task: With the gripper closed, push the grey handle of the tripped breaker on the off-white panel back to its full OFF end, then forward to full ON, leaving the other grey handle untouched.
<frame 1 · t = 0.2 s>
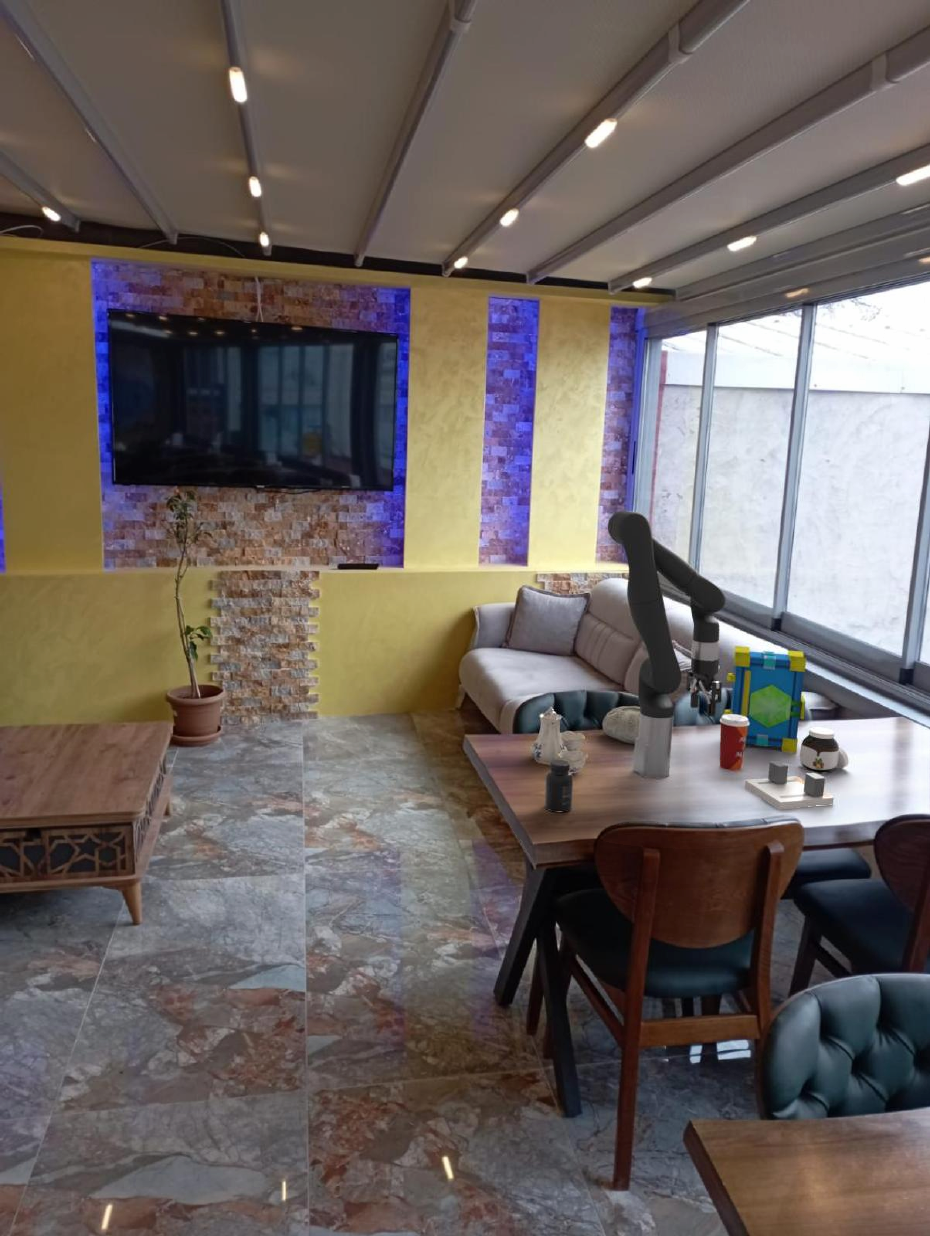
hand: (702, 711, 251), 17 cm above the table, tool pointing down, fingers open, 8 cm apart
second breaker: (814, 784, 232), point 5 cm above the table, slide at 4.0 cm
spread jar: (823, 769, 259), on the table
blue yellow rectangular box: (759, 745, 279), on the table
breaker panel: (787, 795, 237), on the table
decorative shell: (629, 740, 280), on the table
supplement bottle: (557, 808, 223), on the table
coffee cup: (730, 767, 258), on the table
chinaware: (558, 762, 258), on the table
tripped breaker: (778, 772, 240), point 5 cm above the table, slide at 0.0 cm
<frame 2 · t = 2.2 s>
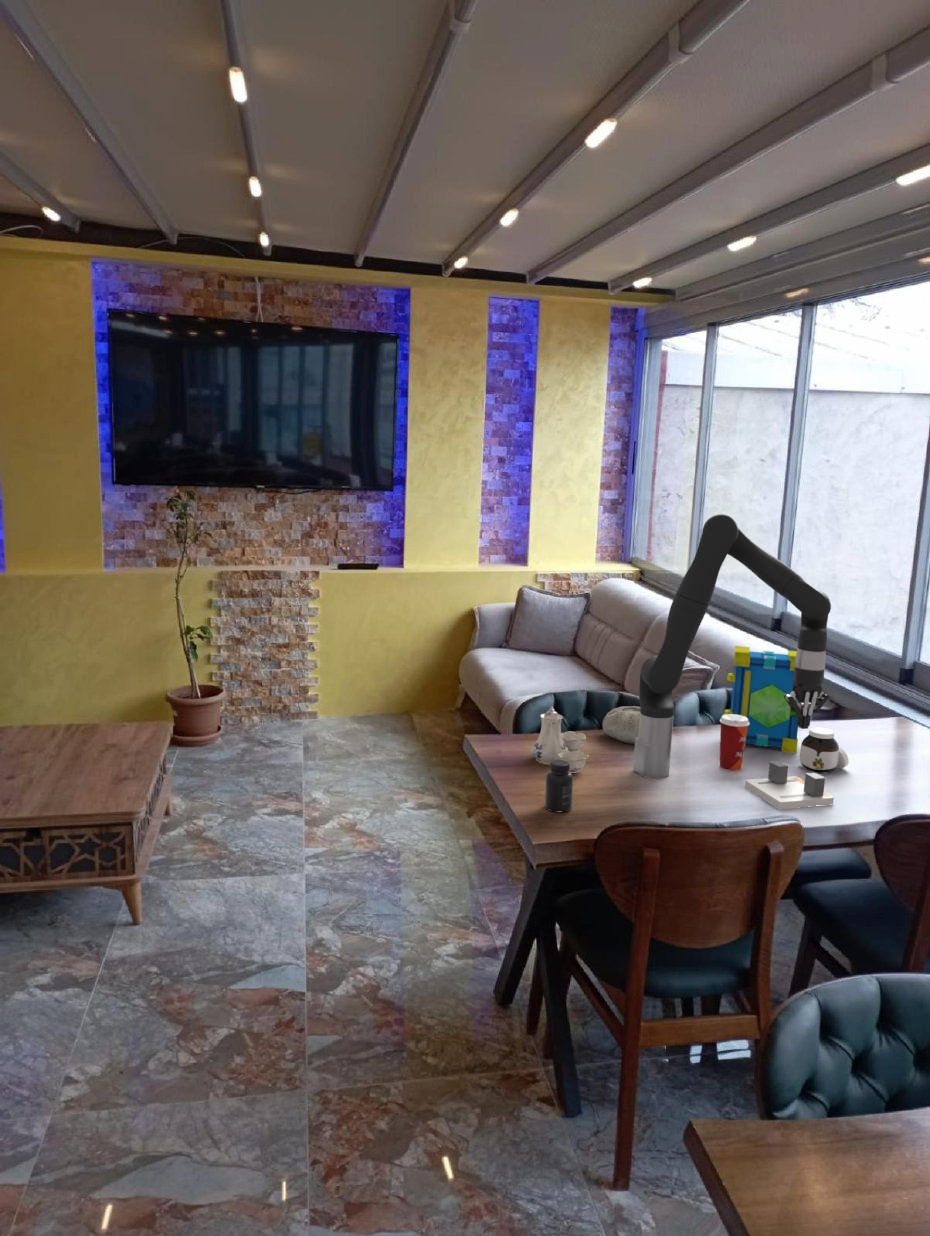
hand: (803, 727, 240), 17 cm above the table, tool pointing down, fingers closed
nothing on the table moved.
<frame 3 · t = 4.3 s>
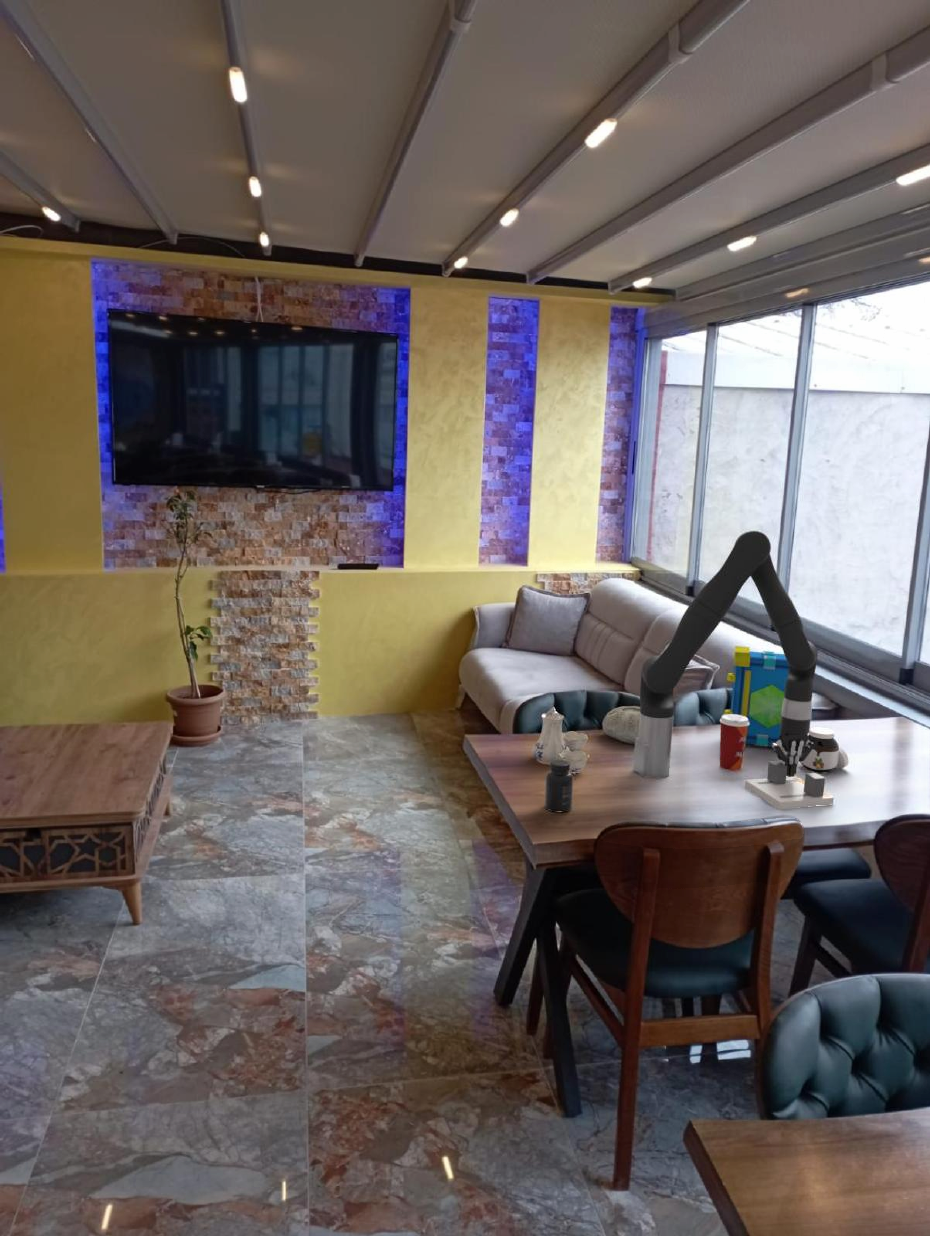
hand: (789, 775, 242), 3 cm above the table, tool pointing down, fingers closed
tripped breaker: (777, 772, 240), point 5 cm above the table, slide at -0.3 cm, touching gripper
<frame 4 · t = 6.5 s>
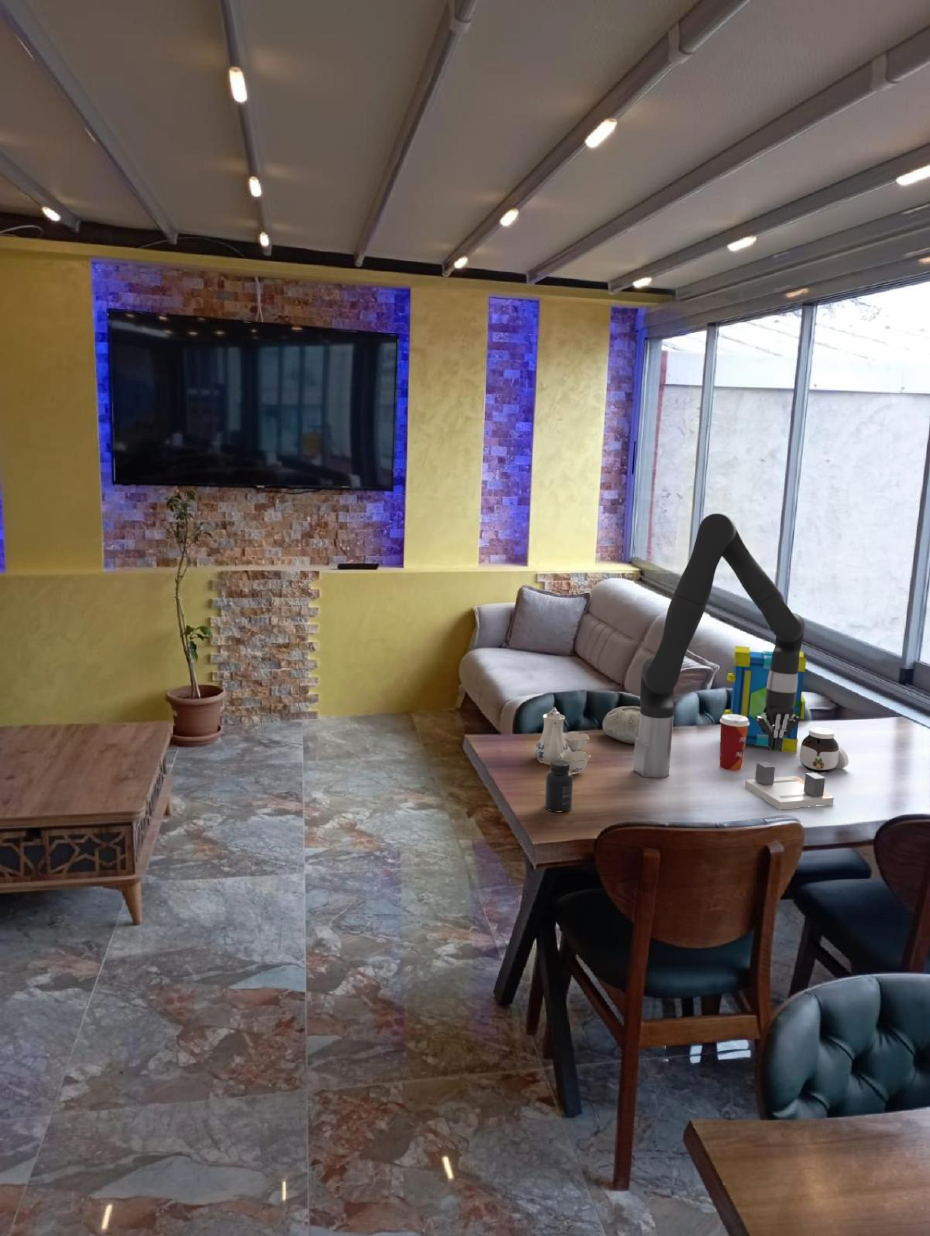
hand: (773, 750, 239), 11 cm above the table, tool pointing down, fingers closed
tripped breaker: (765, 773, 239), point 5 cm above the table, slide at -4.1 cm
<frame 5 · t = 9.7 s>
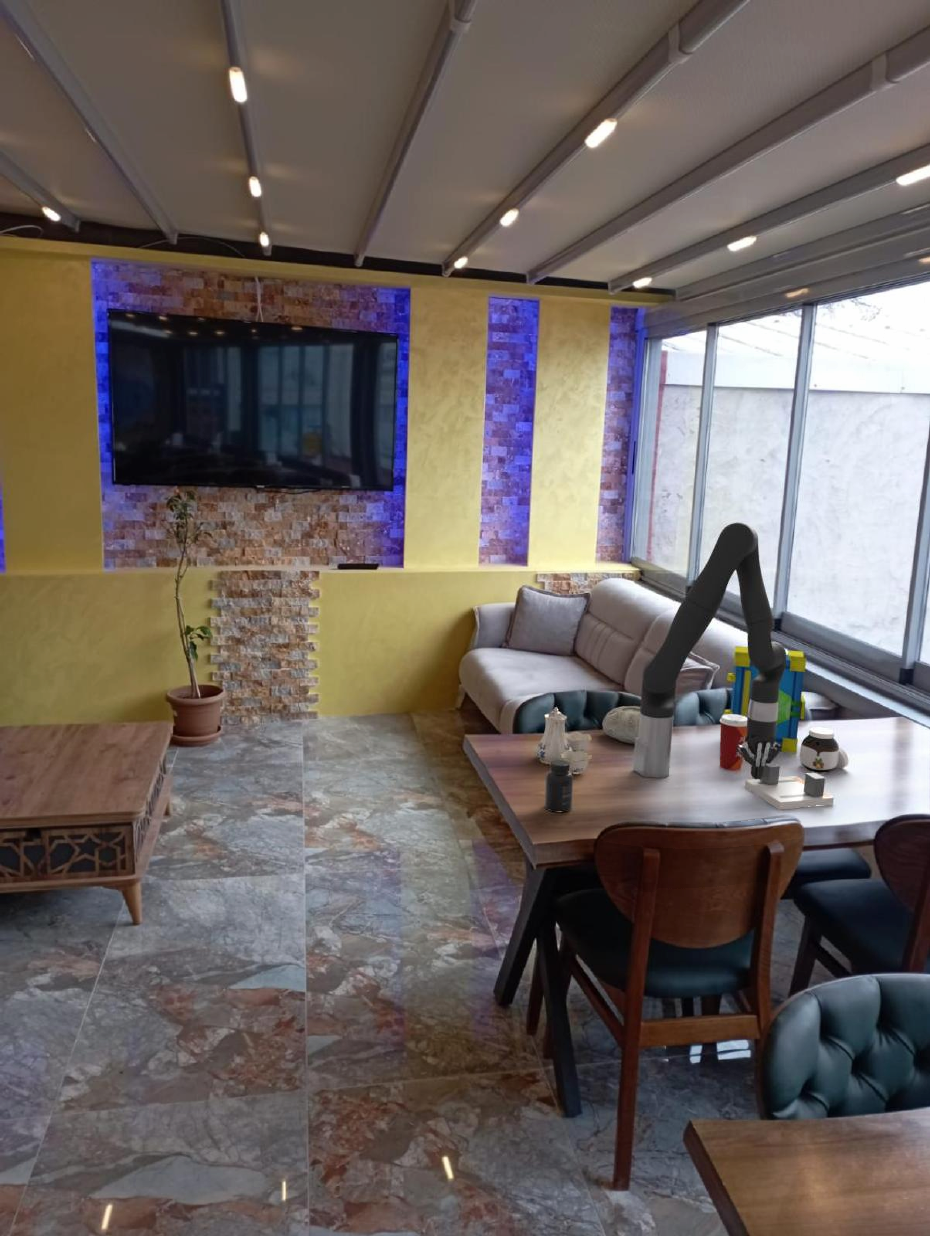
hand: (756, 778, 239), 4 cm above the table, tool pointing down, fingers closed
tripped breaker: (769, 773, 240), point 5 cm above the table, slide at -2.6 cm, touching gripper
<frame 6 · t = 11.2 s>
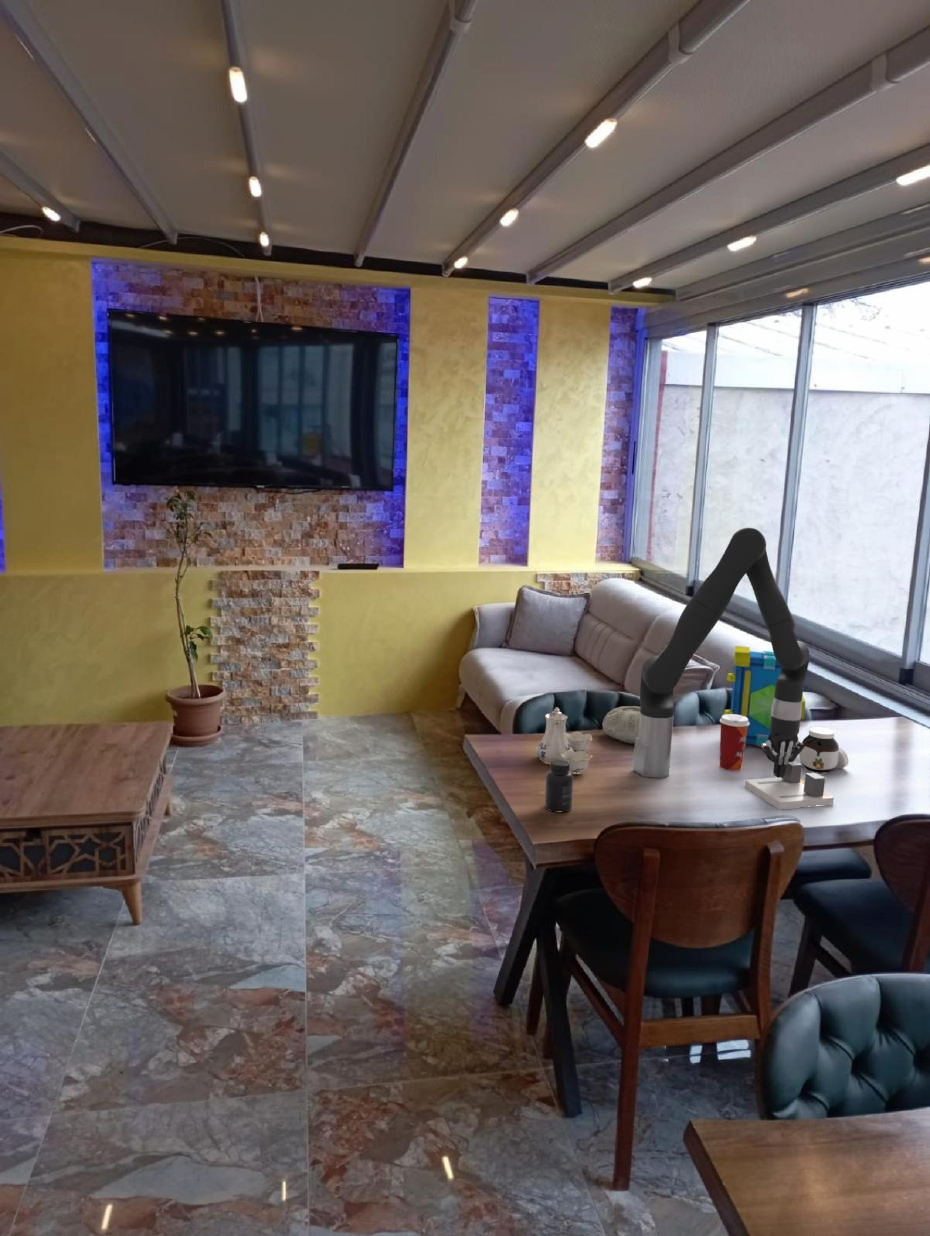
hand: (778, 776, 241), 4 cm above the table, tool pointing down, fingers closed
tripped breaker: (791, 771, 242), point 5 cm above the table, slide at 4.3 cm, touching gripper
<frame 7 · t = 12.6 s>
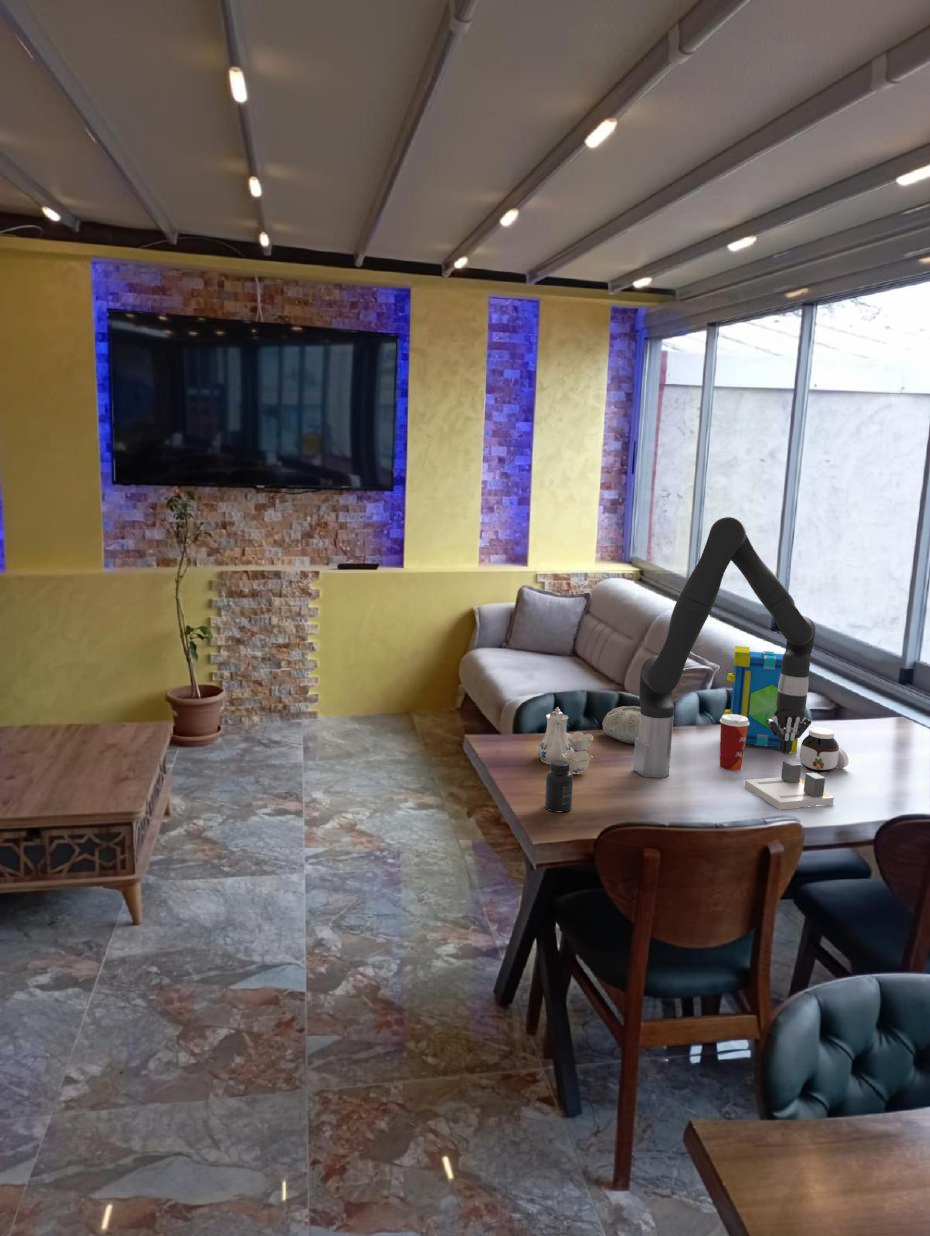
hand: (785, 752, 240), 10 cm above the table, tool pointing down, fingers closed
tripped breaker: (791, 771, 242), point 5 cm above the table, slide at 4.1 cm
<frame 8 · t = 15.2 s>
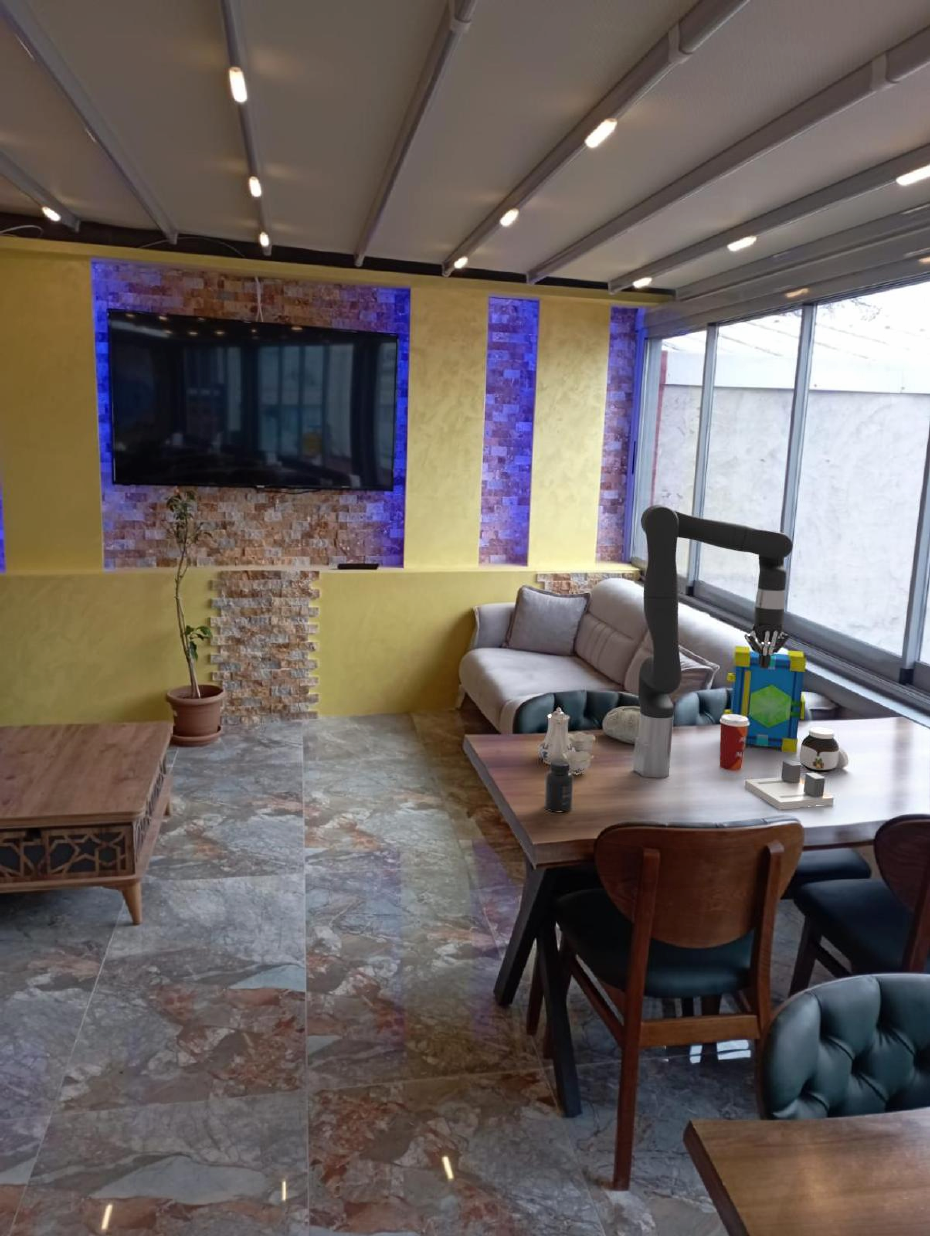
hand: (763, 667, 243), 32 cm above the table, tool pointing down, fingers closed
at the end: tripped breaker slide at 4.1 cm; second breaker slide at 4.0 cm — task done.
